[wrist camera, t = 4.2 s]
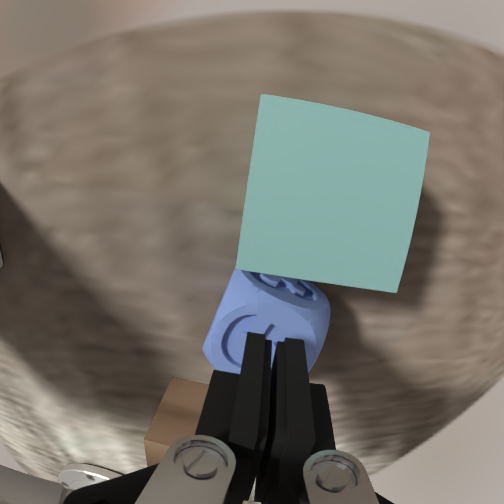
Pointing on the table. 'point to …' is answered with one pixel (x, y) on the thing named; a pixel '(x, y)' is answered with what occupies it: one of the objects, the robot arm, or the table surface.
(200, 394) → the walnut block
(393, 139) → the teal block
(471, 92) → the table surface
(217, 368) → the decorative dice
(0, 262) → the coffee box
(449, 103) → the table surface
